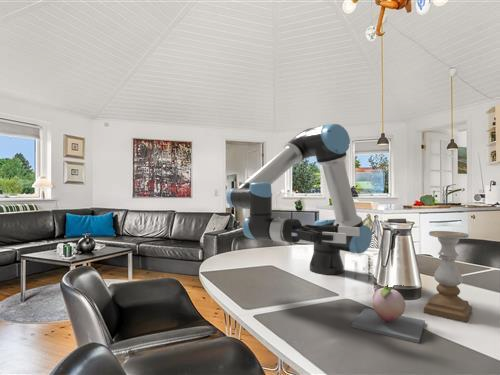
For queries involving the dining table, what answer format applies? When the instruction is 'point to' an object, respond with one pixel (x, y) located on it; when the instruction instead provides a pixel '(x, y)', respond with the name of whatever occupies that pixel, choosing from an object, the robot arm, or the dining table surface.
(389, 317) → the decorative fruit
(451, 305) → the candle holder
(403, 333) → the mat
